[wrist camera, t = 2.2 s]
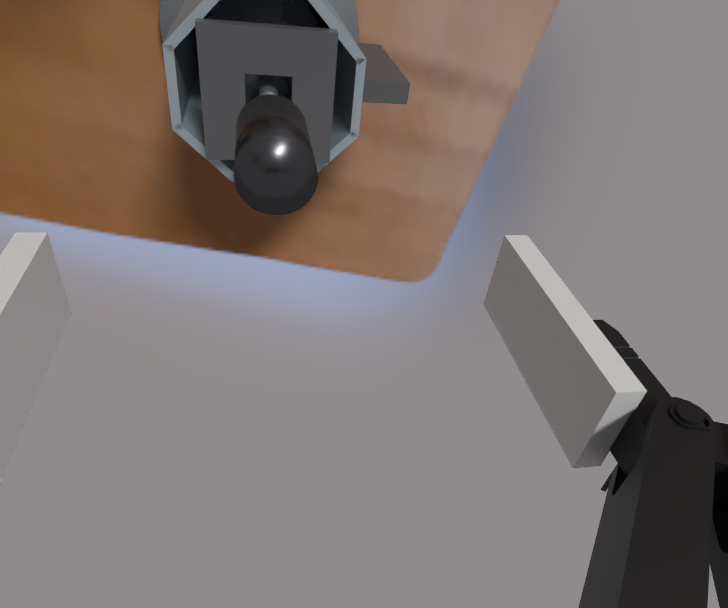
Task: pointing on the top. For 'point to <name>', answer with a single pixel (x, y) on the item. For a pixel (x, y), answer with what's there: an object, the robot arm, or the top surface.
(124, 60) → the top surface
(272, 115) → the plunger
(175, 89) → the carafe
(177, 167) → the top surface
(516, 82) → the top surface
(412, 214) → the top surface
